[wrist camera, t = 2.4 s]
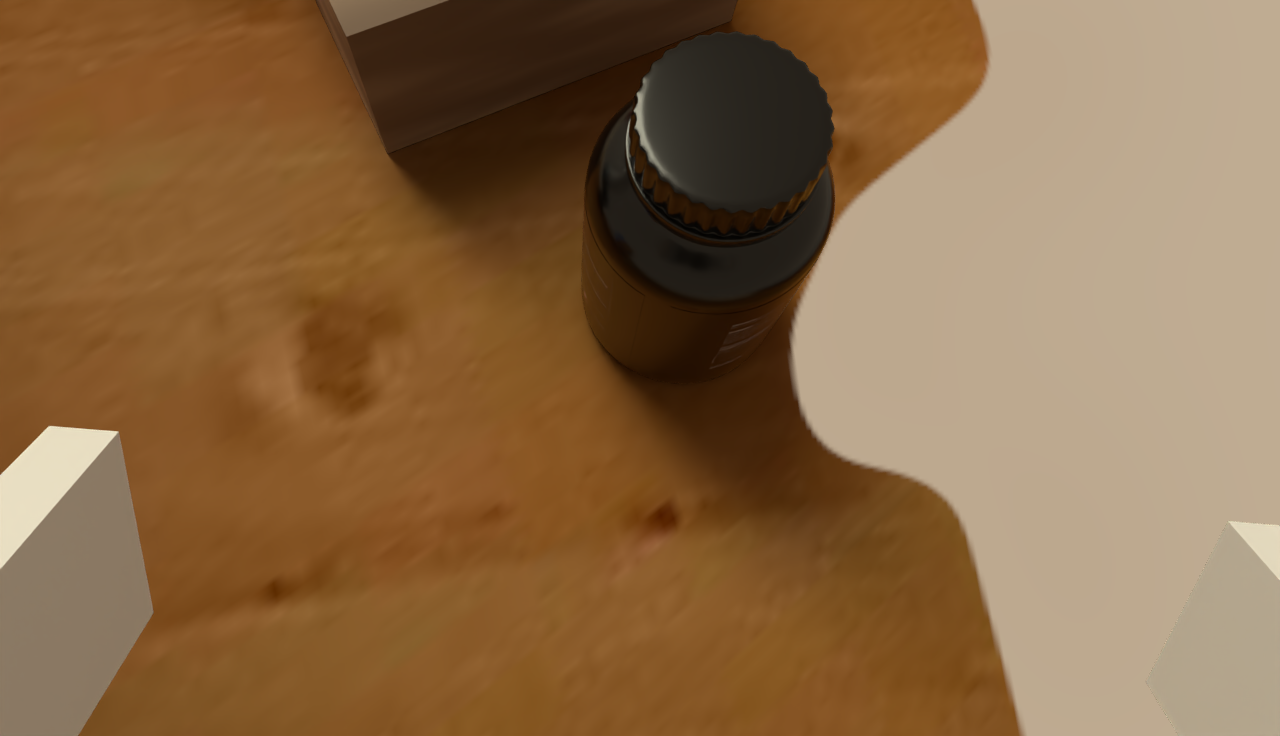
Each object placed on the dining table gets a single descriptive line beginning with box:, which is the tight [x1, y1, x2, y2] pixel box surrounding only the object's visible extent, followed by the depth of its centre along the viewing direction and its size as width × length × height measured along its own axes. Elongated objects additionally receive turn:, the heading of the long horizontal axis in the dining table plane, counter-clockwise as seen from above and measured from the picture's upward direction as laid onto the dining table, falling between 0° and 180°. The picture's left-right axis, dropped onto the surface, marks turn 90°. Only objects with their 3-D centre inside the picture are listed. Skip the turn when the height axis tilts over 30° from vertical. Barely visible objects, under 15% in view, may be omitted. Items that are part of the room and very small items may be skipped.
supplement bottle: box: [581, 31, 835, 384], centre depth 28 cm, size 7×7×12 cm
